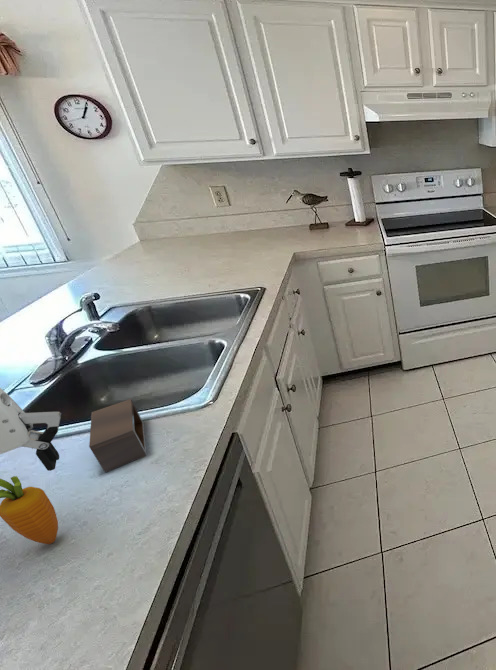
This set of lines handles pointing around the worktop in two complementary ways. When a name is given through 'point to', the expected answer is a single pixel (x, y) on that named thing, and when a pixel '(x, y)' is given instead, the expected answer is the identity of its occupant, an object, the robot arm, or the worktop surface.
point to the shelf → (117, 435)
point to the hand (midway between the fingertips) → (9, 482)
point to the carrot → (28, 511)
